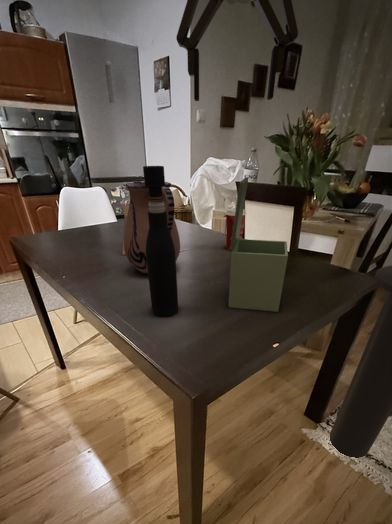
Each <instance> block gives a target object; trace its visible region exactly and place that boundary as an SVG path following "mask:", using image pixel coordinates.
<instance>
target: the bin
mask: <svg viewBox="0 0 392 524" xmlns="http://www.w3.org/2000/svg"><path fill="white" fill-rule="evenodd" d="M260 252H267V253H269V254H261V253H260ZM230 257H231V258H230V270H229V271H230V272H229V274H230V275H229V288H228V290H229V291H228V306H227V307H228V308H234V309H241V310H242V309H245V310H253V311H265V312H276V313H279V309H280V303H281V299H282V292H283V286H284V281H285V277H286V276H285V275H286V270H287V264H288V259H289V252H288V241H285V240H284V241H283V240H266V239H265V240H264V239H245V238H244V239H243V238H242V239H238V241H237V243H236V246H235V248H234V250H233V251H232V250H231V255H230Z"/></svg>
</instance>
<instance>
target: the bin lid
mask: <svg viewBox="0 0 392 524" xmlns="http://www.w3.org/2000/svg"><path fill="white" fill-rule="evenodd" d="M248 183H249V177H244V178H243V179H242V180H241V181H240V182H239V185H238V191H237V198H236V205H235V208H236V212H235V219H234V226H233V233H232V239H231V246H230V250H229V251H232V250H234V248H235V246H236V243H237V241H238V239H239V235H240V229H241V222H242V216H243V210H245V202H246V196H247V189H248Z"/></svg>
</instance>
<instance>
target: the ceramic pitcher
mask: <svg viewBox="0 0 392 524" xmlns="http://www.w3.org/2000/svg"><path fill="white" fill-rule="evenodd" d="M124 185H125V187H126V189H127V191H128V193H129V204H128V205H129V209H128V215H127V221H126V227H125V234H124V233H123V236H124V250H125V253H126V255H125V257H126V258H127V260H128V262H129V263H130V264H131V266H133V267H134V268H135V269H136V270H137V271H139V272H140V273H143V274H148V268H147V260H146V240H147V235H148V230H149V219H148V212H149V211H150V210H149V206H148V204H149V201H164V204H165V205H164V207H165V211H166V212H167V226H168V229H169V231H170V234H171V237H172V240H173V244H174V248H175V256H176V261H177V260H178V258H179V256H180V252H181V240H180V234H179V230H178V226H177V223H176V220H175V206H176V205H175V198H174V195H173V191H172V190H171V188H170V187H171V186H172V183H171V182H168V181H165V186H164V187H162V196H163V198H162V199H158V200H152V199H150V198H149V187H145V182H143V181H140V180H139V181H133V182H126V183H125V184H124Z"/></svg>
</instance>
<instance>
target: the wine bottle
mask: <svg viewBox="0 0 392 524" xmlns="http://www.w3.org/2000/svg"><path fill="white" fill-rule="evenodd" d="M142 172H143V181H144V182H143V183H145V187H149V198H150V199H152V200H158V199H162V198H163V196H162V187H164V186H165V182H166V179H165V177H166V176H165V166H164V165H144V166H142ZM164 205H165V204H164V201H149V204H148V206H149V210H150V211H149V212H148V219H149V230H148V235H147V240H146V260H147V268H148V273H147V275H148V276H147V277H148V286H149V295H150V303H151V304H150V305H151V312H152V314H153V315H155V316H156V317H161V318H167V317H173V316H174V315H176V314H177V313H178V312H179V297H178V277H177V260H176V256H175V248H174V244H173V240H172V237H171V234H170V231H169V229H168V226H167V212H166V211H165V207H164Z"/></svg>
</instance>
